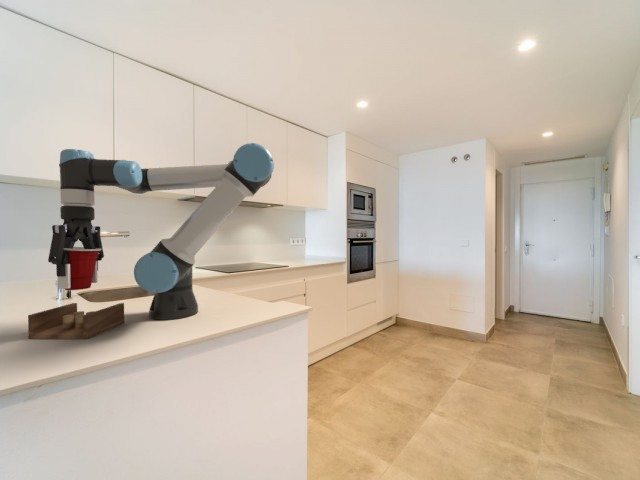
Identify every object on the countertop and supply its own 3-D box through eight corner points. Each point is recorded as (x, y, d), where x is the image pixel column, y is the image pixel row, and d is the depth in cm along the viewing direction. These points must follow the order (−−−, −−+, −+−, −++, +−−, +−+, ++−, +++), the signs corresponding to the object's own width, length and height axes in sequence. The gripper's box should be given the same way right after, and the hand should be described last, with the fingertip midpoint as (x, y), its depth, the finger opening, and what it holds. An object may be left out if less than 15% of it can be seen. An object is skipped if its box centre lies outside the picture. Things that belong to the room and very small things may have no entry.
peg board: (124, 323, 93) (124, 303, 92) (88, 339, 79) (87, 315, 78) (73, 322, 93) (73, 303, 93) (28, 338, 79) (28, 315, 79)
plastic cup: (95, 290, 82) (94, 247, 82) (45, 293, 79) (44, 247, 78) (107, 284, 93) (106, 245, 92) (63, 286, 89) (63, 246, 88)
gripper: (94, 209, 96) (95, 279, 96) (26, 201, 74) (28, 292, 75) (117, 209, 96) (118, 279, 96) (56, 201, 74) (57, 292, 75)
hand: (79, 285), depth 86 cm, fingers closed on plastic cup, 9 cm apart
